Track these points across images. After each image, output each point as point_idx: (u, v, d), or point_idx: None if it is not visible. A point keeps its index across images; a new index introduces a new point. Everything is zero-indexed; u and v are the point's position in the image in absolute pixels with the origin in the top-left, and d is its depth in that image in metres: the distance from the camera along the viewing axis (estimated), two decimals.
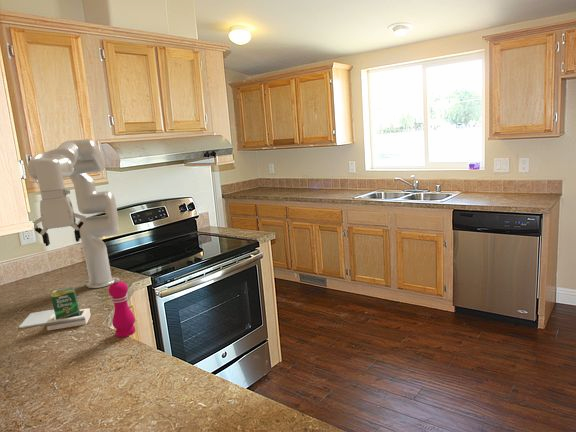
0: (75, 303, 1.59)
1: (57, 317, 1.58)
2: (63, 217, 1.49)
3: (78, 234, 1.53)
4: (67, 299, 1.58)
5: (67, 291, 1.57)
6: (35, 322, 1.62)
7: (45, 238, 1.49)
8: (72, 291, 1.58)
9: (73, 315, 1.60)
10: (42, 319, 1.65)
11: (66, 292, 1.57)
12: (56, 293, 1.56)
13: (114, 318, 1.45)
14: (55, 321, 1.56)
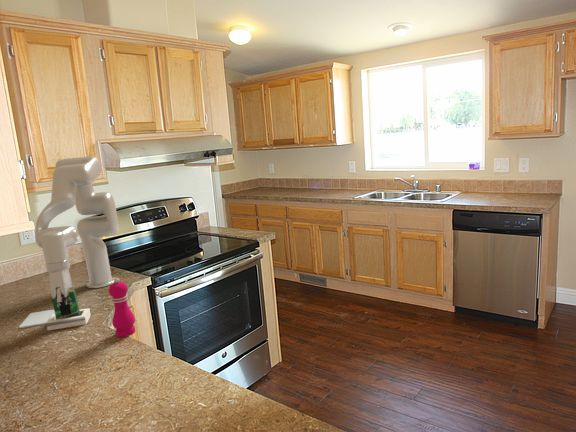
0: (75, 303, 1.59)
1: (57, 317, 1.58)
2: (70, 282, 1.60)
3: None
4: None
5: None
6: (35, 322, 1.62)
7: (69, 306, 1.58)
8: (72, 291, 1.58)
9: (73, 315, 1.60)
10: (42, 319, 1.65)
11: None
12: (56, 293, 1.57)
13: (114, 318, 1.45)
14: (55, 321, 1.56)
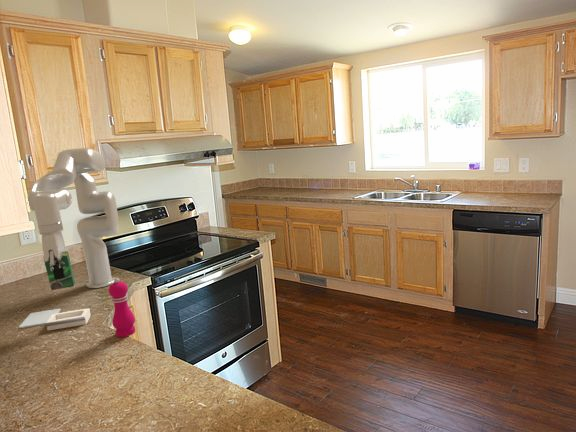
0: (68, 267, 1.57)
1: (50, 281, 1.56)
2: (63, 246, 1.58)
3: None
4: None
5: None
6: (35, 322, 1.62)
7: None
8: (65, 255, 1.56)
9: (67, 279, 1.57)
10: (42, 319, 1.65)
11: None
12: (49, 256, 1.54)
13: (114, 318, 1.45)
14: (55, 321, 1.56)
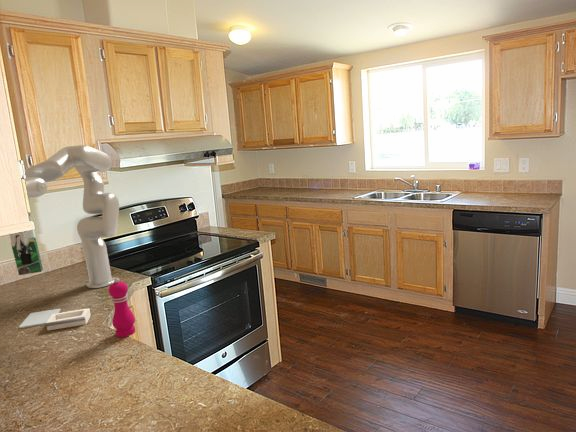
0: (36, 253, 1.61)
1: (18, 266, 1.60)
2: (31, 233, 1.63)
3: None
4: None
5: None
6: (35, 322, 1.62)
7: (30, 256, 1.60)
8: (32, 240, 1.60)
9: (34, 264, 1.62)
10: (42, 319, 1.65)
11: None
12: None
13: (114, 318, 1.45)
14: (55, 321, 1.56)
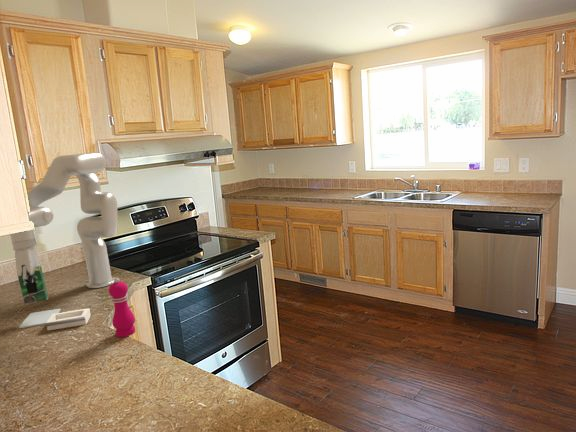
0: (41, 281, 1.63)
1: (23, 295, 1.63)
2: (37, 261, 1.65)
3: None
4: None
5: None
6: (35, 322, 1.62)
7: None
8: (38, 269, 1.62)
9: (39, 293, 1.64)
10: (42, 319, 1.65)
11: None
12: None
13: (114, 318, 1.45)
14: (55, 321, 1.56)
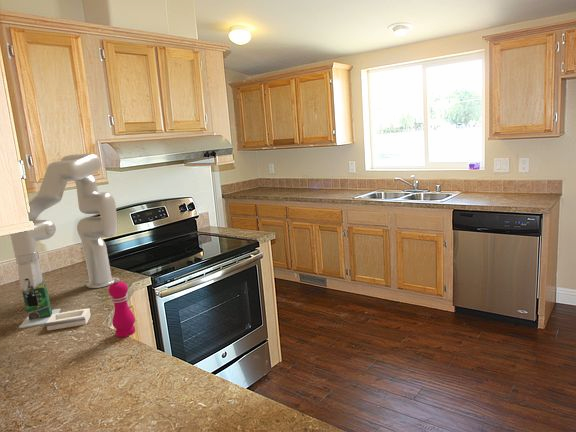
0: (45, 298, 1.65)
1: (28, 311, 1.64)
2: (40, 274, 1.66)
3: None
4: (37, 294, 1.64)
5: (37, 286, 1.64)
6: (35, 322, 1.62)
7: (36, 298, 1.61)
8: (42, 286, 1.64)
9: (43, 309, 1.66)
10: (42, 319, 1.65)
11: (36, 287, 1.63)
12: None
13: (114, 318, 1.45)
14: (55, 321, 1.56)
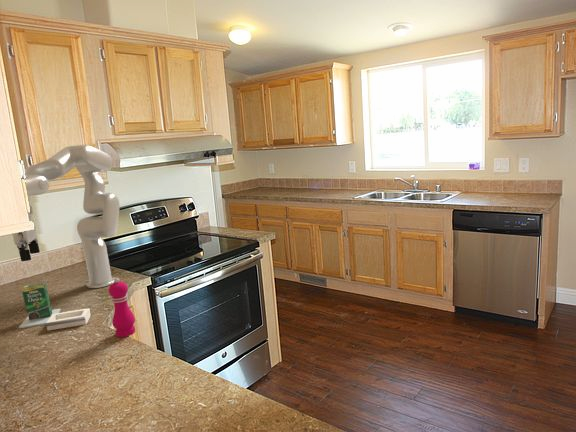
0: (45, 298, 1.65)
1: (28, 311, 1.64)
2: (34, 230, 1.63)
3: None
4: (37, 294, 1.64)
5: (37, 286, 1.64)
6: (35, 322, 1.62)
7: (29, 252, 1.58)
8: (42, 286, 1.64)
9: (43, 309, 1.66)
10: (42, 319, 1.65)
11: (36, 287, 1.63)
12: (27, 288, 1.63)
13: (114, 318, 1.45)
14: (55, 321, 1.56)
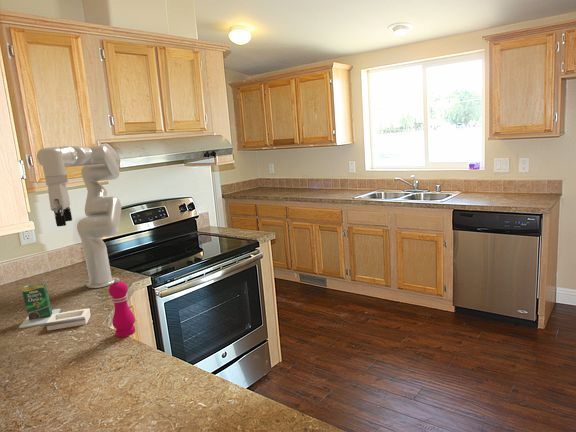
0: (45, 298, 1.65)
1: (28, 311, 1.64)
2: (68, 198, 1.72)
3: None
4: (37, 294, 1.64)
5: (37, 286, 1.64)
6: (35, 322, 1.62)
7: (64, 218, 1.66)
8: (42, 286, 1.64)
9: (43, 309, 1.66)
10: (42, 319, 1.65)
11: (36, 287, 1.63)
12: (27, 288, 1.63)
13: (114, 318, 1.45)
14: (55, 321, 1.56)
